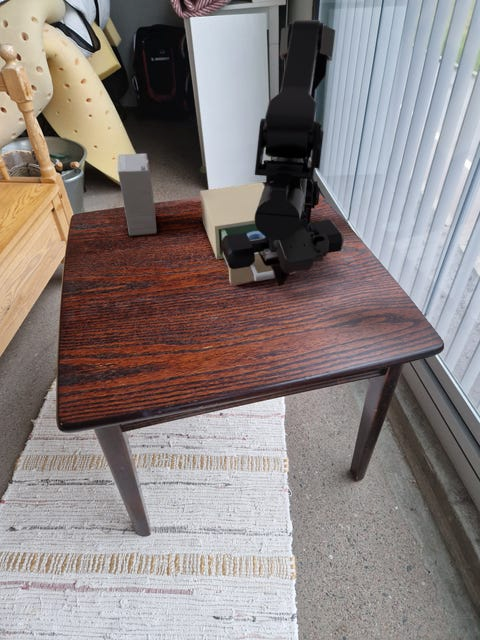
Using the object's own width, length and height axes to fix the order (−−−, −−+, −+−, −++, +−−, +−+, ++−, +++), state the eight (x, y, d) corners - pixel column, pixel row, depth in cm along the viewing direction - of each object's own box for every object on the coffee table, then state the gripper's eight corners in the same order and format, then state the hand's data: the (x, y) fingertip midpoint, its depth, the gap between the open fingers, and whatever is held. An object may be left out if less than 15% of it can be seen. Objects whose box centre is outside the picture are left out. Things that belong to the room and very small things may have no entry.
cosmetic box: (128, 218, 102) (114, 154, 91) (158, 215, 103) (147, 150, 92) (128, 237, 96) (113, 170, 85) (160, 234, 97) (148, 167, 86)
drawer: (304, 287, 81) (307, 260, 76) (236, 300, 78) (235, 273, 74) (273, 234, 94) (274, 209, 90) (214, 244, 92) (213, 218, 87)
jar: (265, 250, 88) (266, 229, 84) (274, 265, 84) (275, 243, 80) (240, 254, 87) (240, 233, 83) (248, 270, 83) (247, 248, 79)
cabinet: (282, 248, 92) (284, 215, 86) (216, 259, 89) (214, 226, 84) (261, 213, 103) (262, 182, 97) (202, 222, 100) (199, 190, 94)
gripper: (237, 241, 55) (239, 326, 65) (368, 220, 58) (349, 304, 69) (218, 200, 62) (223, 282, 73) (335, 184, 65) (323, 265, 76)
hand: (279, 284), depth 73 cm, fingers closed
